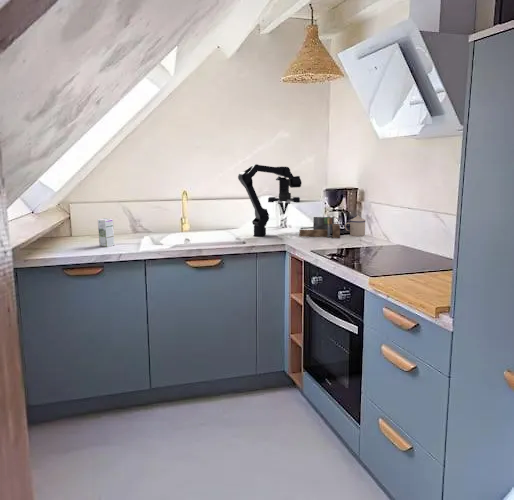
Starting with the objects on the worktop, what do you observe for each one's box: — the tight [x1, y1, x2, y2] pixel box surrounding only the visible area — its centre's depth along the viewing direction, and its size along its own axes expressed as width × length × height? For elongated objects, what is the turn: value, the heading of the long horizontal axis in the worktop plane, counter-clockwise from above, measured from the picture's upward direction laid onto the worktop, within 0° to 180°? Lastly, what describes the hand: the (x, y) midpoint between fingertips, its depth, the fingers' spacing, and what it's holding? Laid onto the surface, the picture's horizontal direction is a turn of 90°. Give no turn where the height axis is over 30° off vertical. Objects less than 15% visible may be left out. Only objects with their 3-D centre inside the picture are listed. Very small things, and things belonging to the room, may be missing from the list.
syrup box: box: [97, 217, 115, 248], centre depth 265 cm, size 6×6×14 cm
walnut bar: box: [298, 229, 328, 238], centre depth 293 cm, size 16×4×4 cm, turn 87°
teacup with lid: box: [344, 215, 366, 237], centre depth 295 cm, size 12×9×12 cm
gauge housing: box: [312, 216, 341, 239], centre depth 294 cm, size 15×17×10 cm
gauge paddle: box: [327, 218, 331, 238], centre depth 293 cm, size 1×14×9 cm, turn 173°
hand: (284, 214), depth 301 cm, fingers closed
